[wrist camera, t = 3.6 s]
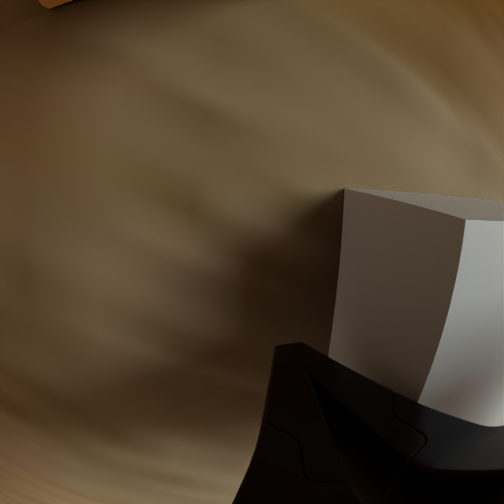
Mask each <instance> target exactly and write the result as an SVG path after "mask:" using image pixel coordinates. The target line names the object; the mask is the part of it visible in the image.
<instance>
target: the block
mask: <svg viewBox="0 0 504 504" xmlns="http://www.w3.org/2000/svg"><path fill="white" fill-rule="evenodd" d="M328 357H330V358H331V359H333V360H335V361H337V362H339V363H341V364H343V365H344V366H346V367H348V368H350V369H352V370H354V371H356V372H358V373H360V374H361V375H363V376H365V377H367V378H369V379H371V380H373V381H375V382H377V383H379V384H381V385H383V386H385V387H387V388H389V389H391V390H393V393H394V392H397V393H399V394H401V395H403V396H405V397H407V398H409V399H411V400H413V401H416V402H418V403H420V404H422V405H425V406H427V407H430V408H433V409H435V410H438V411H440V412H443V413H446V414H449V415H452V416H455V417H458V418H461V419H464V420H467V421H470V422H473V423H476V424H480V425H484V426H503V425H504V203H502V202H498V201H491V200H483V199H475V198H466V197H457V196H448V195H437V194H426V193H414V192H401V191H386V190H369V189H348V188H345V189H344V210H343V227H342V241H341V253H340V265H339V275H338V285H337V294H336V302H335V311H334V318H333V326H332V333H331V340H330V347H329V354H328Z"/></svg>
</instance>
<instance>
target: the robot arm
mask: <svg viewBox="0 0 504 504" xmlns="http://www.w3.org/2000/svg"><path fill="white" fill-rule="evenodd" d="M232 504H504V425H503V426H484V425H480V424H476V423H473V422H470V421H467V420H464V419H461V418H458V417H455V416H452V415H449V414H446V413H443V412H440V411H438V410H435V409H433V408H430V407H427V406H425V405H422V404H420V403H418V402H416V401H413V400H411V399H409V398H407V397H405V396H403V395H401V394H399V393H397V392H394V393H393V390H391V389H389V388H387V387H385V386H383V385H381V384H379V383H377V382H375V381H373V380H371V379H369V378H367V377H365V376H363V375H361V374H360V373H358V372H356V371H354V370H352V369H350V368H348V367H346V366H344V365H343V364H341V363H339V362H337V361H335V360H333V359H331V358H330V357H328V356H326V355H324V354H322V353H321V352H319V351H317V350H315V349H313V348H312V347H310V346H308V345H306V344H304V343H302V342H297V343H290V344H283V345H276V346H275V349H274V355H273V360H272V366H271V372H270V378H269V384H268V389H267V395H266V400H265V406H264V411H263V416H262V423H261V426H260V431H259V436H258V440H257V444H256V448H255V451H254V454H253V456H252V459H251V462H250V464H249V467H248V469H247V472H246V474H245V476H244V479H243V481H242V483H241V485H240V488H239V490H238V492H237V494H236V496H235V498H234V501H233V503H232Z"/></svg>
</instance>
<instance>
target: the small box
mask: <svg viewBox="0 0 504 504" xmlns="http://www.w3.org/2000/svg"><path fill="white" fill-rule="evenodd" d="M38 1H39V2H40V3H41V4H42V5H43V6H44V7H46V8H53V7H56V6H58V5H61V4H64V3H67V2H69V1H72V0H38Z"/></svg>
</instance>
